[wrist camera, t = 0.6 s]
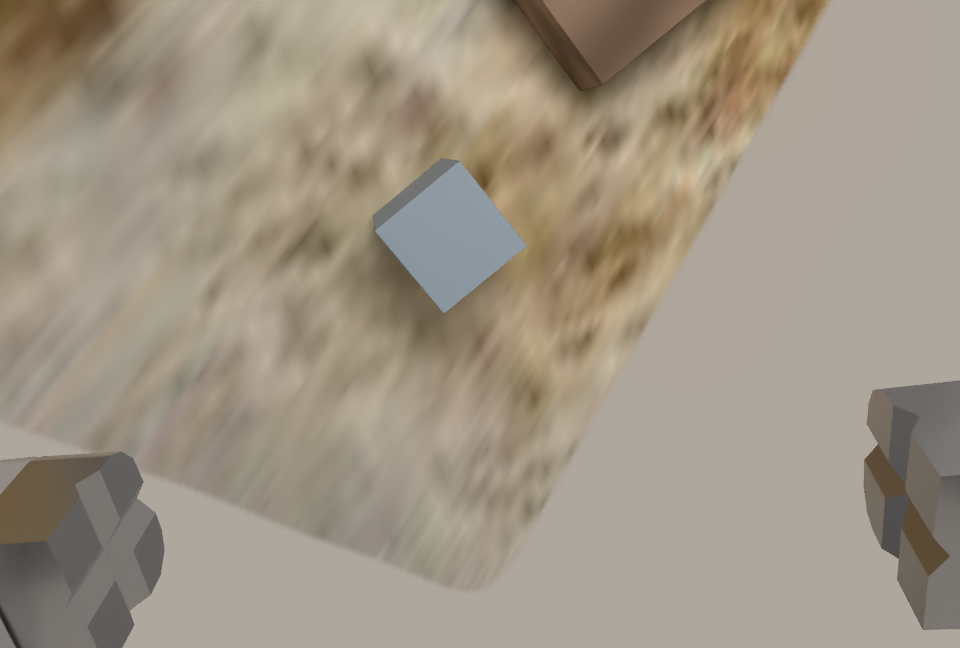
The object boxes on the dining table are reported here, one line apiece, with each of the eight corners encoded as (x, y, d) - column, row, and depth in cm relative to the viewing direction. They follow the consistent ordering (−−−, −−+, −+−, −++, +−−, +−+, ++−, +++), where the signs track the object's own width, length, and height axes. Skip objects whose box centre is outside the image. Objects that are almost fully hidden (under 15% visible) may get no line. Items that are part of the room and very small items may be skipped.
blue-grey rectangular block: (373, 214, 50) (374, 230, 40) (442, 158, 50) (459, 160, 40) (429, 282, 51) (444, 313, 41) (496, 227, 51) (526, 245, 41)
